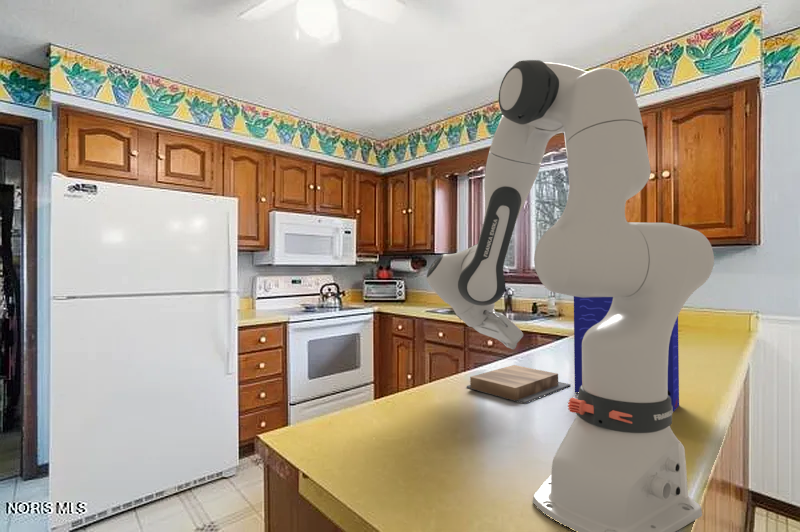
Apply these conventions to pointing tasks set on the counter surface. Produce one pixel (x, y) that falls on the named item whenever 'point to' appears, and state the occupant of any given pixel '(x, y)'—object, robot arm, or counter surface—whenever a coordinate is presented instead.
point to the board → (514, 381)
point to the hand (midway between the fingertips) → (512, 346)
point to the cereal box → (593, 313)
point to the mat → (538, 394)
